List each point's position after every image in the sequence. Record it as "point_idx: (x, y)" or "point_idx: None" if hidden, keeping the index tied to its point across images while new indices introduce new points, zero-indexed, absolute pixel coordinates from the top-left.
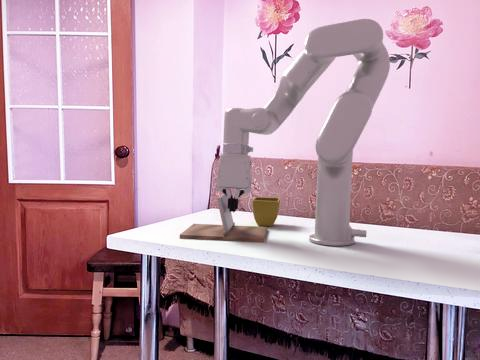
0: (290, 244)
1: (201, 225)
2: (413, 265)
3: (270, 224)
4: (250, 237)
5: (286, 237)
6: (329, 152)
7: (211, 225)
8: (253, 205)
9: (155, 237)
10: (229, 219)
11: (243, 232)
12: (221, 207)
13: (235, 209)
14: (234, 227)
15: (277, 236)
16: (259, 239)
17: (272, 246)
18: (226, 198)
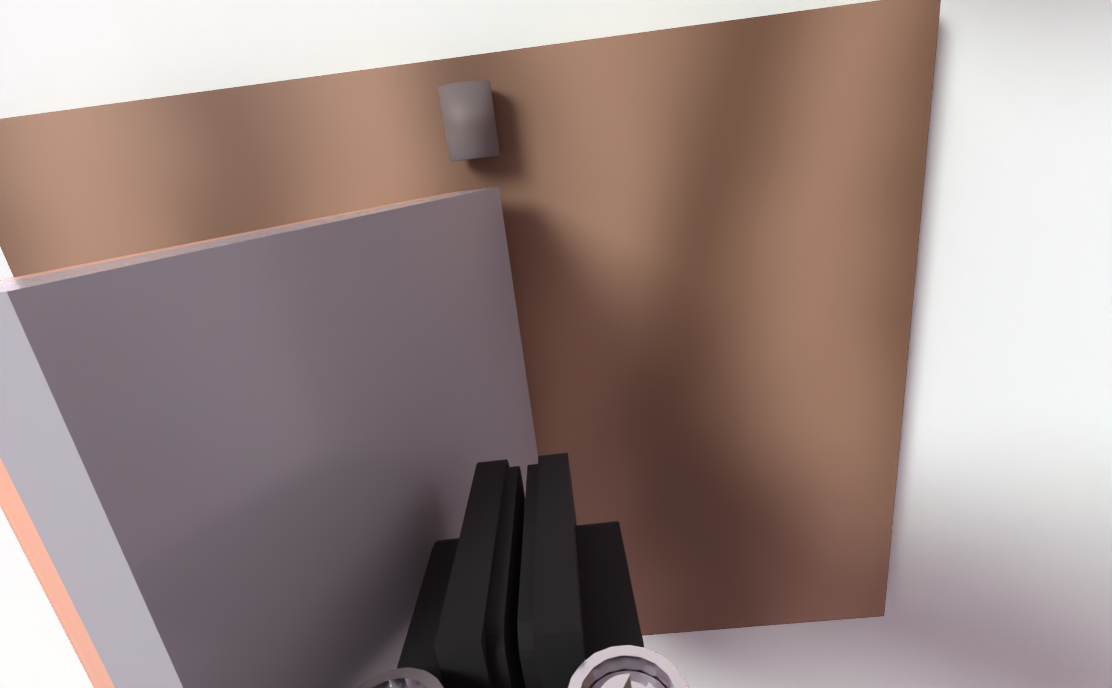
0: (1082, 599)
1: (103, 211)
2: None
3: None
4: (767, 608)
5: (1097, 358)
6: None
7: (208, 165)
8: None
9: (32, 669)
10: (501, 456)
11: (675, 437)
12: None
13: (573, 505)
14: (518, 199)
15: (1008, 341)
16: (842, 612)
17: (931, 684)
18: (278, 540)
